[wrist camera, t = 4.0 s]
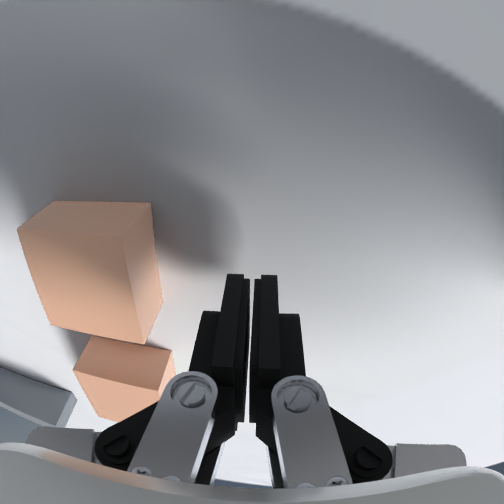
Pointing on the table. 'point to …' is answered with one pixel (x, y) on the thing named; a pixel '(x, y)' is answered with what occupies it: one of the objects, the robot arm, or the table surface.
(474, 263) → the table surface
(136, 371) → the peach rectangular block
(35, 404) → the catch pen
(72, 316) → the light orange-brown block
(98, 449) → the robot arm
